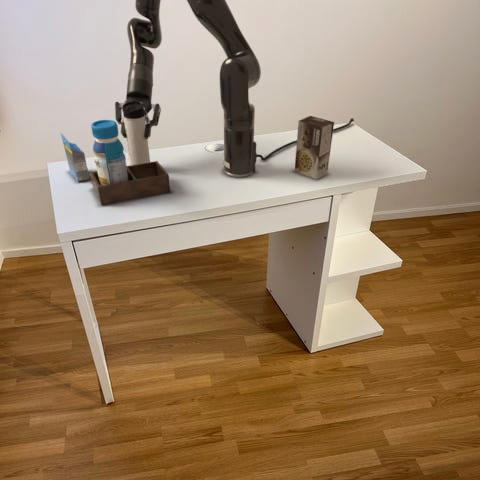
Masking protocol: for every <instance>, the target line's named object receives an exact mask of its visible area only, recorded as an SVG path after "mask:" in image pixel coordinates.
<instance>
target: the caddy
mask: <svg viewBox="0 0 480 480" xmlns="http://www.w3.org/2000/svg"><path fill="white" fill-rule="evenodd" d="M126 168H127V175H128V181H125V182H119V183H113V184H108V185H102V186H100V181H99V177H98V172H97V170H94V171H90V172H89V177H90V180H91V185H92V189H93V192H94V193H95V196H96V198H97V199H98V202H99V203H100V205H101V206H107V205H111V204H112V205H113V204H118V203H123V202H128V201H134V200H138V199H139V200H140V199H144V198H148V197H154V196H155V197H156V196H159V195H165V194H170V193H171V183H170V175H169V173H168V172H167V170H165V168H164V167H163V166H162V165H161V164H160V163H159V161H158V160H155V161H150V162H148V163H142V164H136V165H130V164H129V165H126Z"/></svg>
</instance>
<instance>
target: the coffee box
mask: <svg viewBox="0 0 480 480" xmlns="http://www.w3.org/2000/svg"><path fill="white" fill-rule="evenodd" d="M334 126H335V121H332V120H328V119H324V118H321V117H317V116H313V115H308V116H307V117H304V118H301V119H299V120H298V124H297V135H296V140H297V143H296V149H295V160H294V161H295V162H294V173H296V174H297V173H298V174H301V175H302V176H306V177H307V178H310V179H311V178H312V179H314V180H318V179H320V178H323V177H324V176H326V175H328V170H329V162H330V156H331V149H332V141H333V134H334V132H333V129H334Z"/></svg>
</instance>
